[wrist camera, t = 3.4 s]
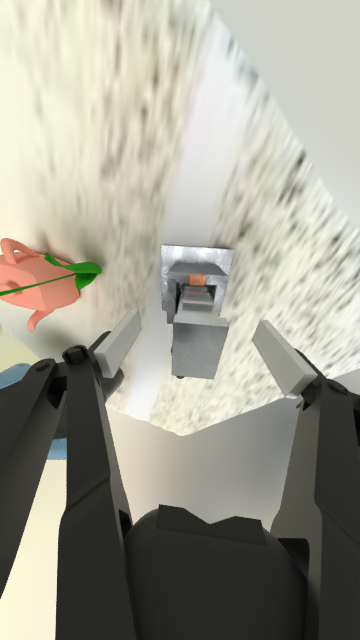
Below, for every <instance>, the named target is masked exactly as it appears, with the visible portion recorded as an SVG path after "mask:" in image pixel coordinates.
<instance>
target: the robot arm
mask: <svg viewBox="0 0 360 640" xmlns="http://www.w3.org/2000/svg"><path fill="white" fill-rule="evenodd" d="M140 331H141V324H140V316H139V309H131V310H130V311H129V312H128V314H127V315H126V316H125V317H124V318H123V319H122V320H121V321H120V323H119V324H118V325H117V326H116V327H115V328H114V329H113V330H112V331H107V332H105V333H104V334H102V335H101V336H100V337H99V339H97V340H96V341H95V342H94V343H93V344H92V345H91V347H90V348H89V349H88V350H87V349H86V347H85V346H83V345H77V346H73V347H70V348H69V349H67V350H65V351H64V352H63V354H62V357H63V359H64V361H65V362H61V363H56V361H55V360H54V359H51V358H49V359H44V360H41V361H39V362H37V363H35V364H34V365H32V366H31V365H29V364H27V363H20V364H16V365H14V366H12V367H10V368H8V369H6V370H4V371H3V372H1V373H0V599H1V596H2V594H3V591H4V589H5V586H6V583H7V580H8V577H9V575H10V572H11V569H12V566H13V563H14V560H15V557H16V554H17V551H18V548H19V545H20V542H21V538H22V535H23V532H24V529H25V526H26V522H27V519H28V516H29V513H30V510H31V507H32V503H33V500H34V497H35V494H36V491H37V488H38V485H39V482H40V478H41V475H42V472H43V469H44V466H45V463H46V460H47V459H49V460H66V459H67V501H66V508H65V511H64V513H63V515H62V518H61V522H60V526H59V537H58V568H57V601H56V637H55V640H360V395H357V394H354V393H351V392H349V391H348V390H347V389H346V388H345V387H344V386H343V385H341V384H340V383H338V382H336V381H334V380H331V379H327V378H326V377H325V376H324V375H323V374H322V373H321V372H320V371H319V370H318V369H317V368H316V367H315V366H314V365H313V364H312V363H311V362H310V361H309V360H308V359H307V358H306V356H305V355H304V354H303V353H301V352H300V351H298V350H297V349H295V348H293V347H292V346H291V345H290V344H289V343H288V342H287V341H286V340H285V339H284V337H283V336H282V335H281V334H280V333H279V332H278V331H277V330H276V329H275V328H274V327H273V325H272V324H271V323H270V322H269V321H268V320H260V322H259V324H258V326H257V329H256V331H255V333H254V336H253V338H252V341H253V343H254V345H255V346H256V348H257V350H258V352H259V353H260V355H261V357H262V359H263V360H264V362H265V364H266V365H267V367H268V369H269V371H270V372H271V374H272V376H273V377H274V379H275V381H276V383H277V384H278V386H279V388H280V389H281V391H282V393H283V395H284V396H285V398H294V399H296V398H297V397H298V396H299V395H300V394H301V395H302V397H303V398H304V399H303V400H302V401H301V402H300V403H299V404H298V405H297V406H296V408H299V407H300V411H299V416H298V421H297V426H296V431H295V436H294V441H293V446H292V451H291V456H290V461H289V466H288V471H287V477H286V481H285V486H284V492H283V497H282V501H281V506H280V509H279V512H278V513H277V515H276V516H275V518H274V521H273V523H272V526H271V530H270V532H268V531H267V530H266V529H265V528H263V527H262V523H261V520H257V519H251V518H244V517H238V516H234V517H231V518H227V519H224V520H221V521H218V522H215V523H212V524H208V523H206V522H205V521H203V520H202V519H200V518H198V517H197V516H195V515H194V514H192V513H190V512H189V511H187V510H186V509H184V508H179V507H173V506H167V505H160V504H159V508H158V509H155V510H152V511H150V512H148V513H147V514H145V515H144V516H143V517H141V518H140V519H139V520H138V521H137V522H136V523H135V524H134V526H133V522H132V518H131V513H130V509H129V504H128V500H127V497H126V493H125V491H124V487H123V484H122V480H121V475H120V470H119V466H118V461H117V457H116V452H115V447H114V443H113V438H112V434H111V429H110V425H109V420H108V416H107V411H106V406H105V403H106V401H107V399H108V398H109V397H110V396H111V395H112V394H113V393H114V391H115V390H116V389H117V388H118V387H119V386H120V385H121V383H122V381H123V378H124V375H123V372H122V371H121V369H120V368H119V367H120V365H121V364H122V362H123V360H124V358H125V357H126V355H127V353H128V351H129V350H130V348H131V346H132V345H133V343H134V341H135V339H136V338H137V336H138V334H139V332H140Z"/></svg>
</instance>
